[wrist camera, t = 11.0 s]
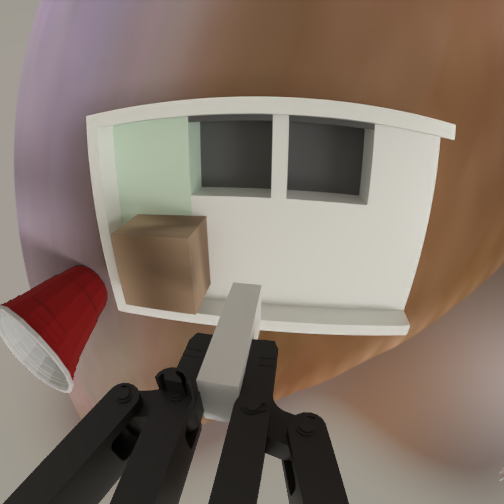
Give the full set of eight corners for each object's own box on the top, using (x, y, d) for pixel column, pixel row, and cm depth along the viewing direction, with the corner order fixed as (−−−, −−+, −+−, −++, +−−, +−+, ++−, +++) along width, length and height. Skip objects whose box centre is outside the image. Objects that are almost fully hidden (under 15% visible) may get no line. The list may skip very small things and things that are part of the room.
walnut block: (206, 216, 20) (187, 239, 16) (210, 283, 22) (195, 314, 19) (138, 214, 20) (110, 234, 17) (148, 276, 23) (126, 304, 19)
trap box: (423, 121, 17) (455, 124, 13) (391, 299, 24) (406, 335, 20) (122, 113, 20) (86, 116, 15) (142, 281, 27) (118, 310, 22)
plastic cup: (53, 295, 31) (-2, 352, 20) (58, 228, 26) (-20, 283, 15) (118, 339, 32) (72, 411, 21) (136, 278, 27) (69, 361, 16)
